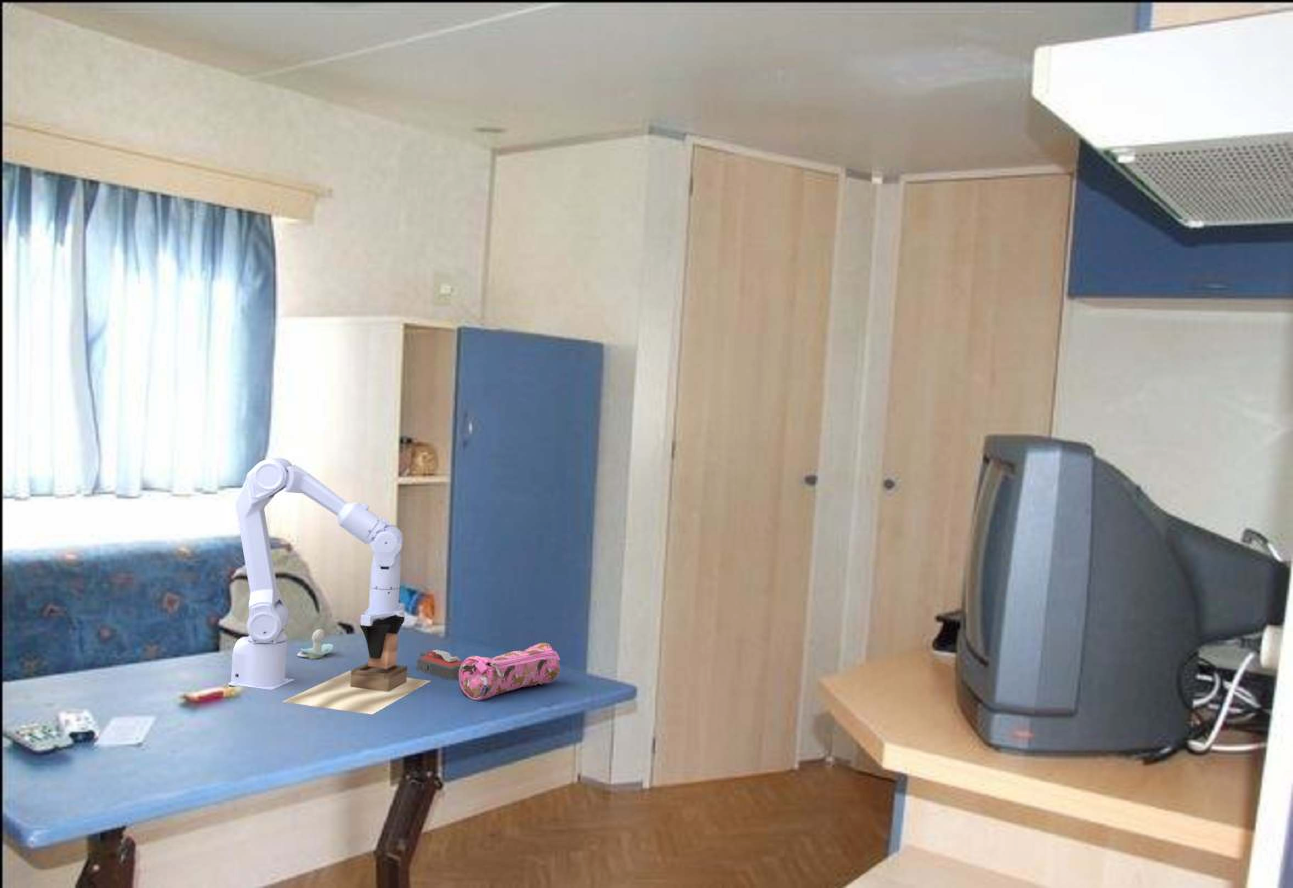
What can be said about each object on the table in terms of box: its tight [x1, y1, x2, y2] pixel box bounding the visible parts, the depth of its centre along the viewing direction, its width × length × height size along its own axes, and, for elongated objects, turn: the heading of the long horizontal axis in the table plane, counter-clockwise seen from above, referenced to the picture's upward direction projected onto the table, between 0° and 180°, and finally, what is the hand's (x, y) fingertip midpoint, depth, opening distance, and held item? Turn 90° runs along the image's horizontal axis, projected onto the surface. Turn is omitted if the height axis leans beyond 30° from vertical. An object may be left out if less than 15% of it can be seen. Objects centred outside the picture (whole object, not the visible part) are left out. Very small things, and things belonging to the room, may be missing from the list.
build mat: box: [282, 662, 432, 715], centre depth 197 cm, size 18×25×4 cm
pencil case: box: [458, 642, 561, 701], centre depth 206 cm, size 21×9×9 cm, turn 141°
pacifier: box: [297, 628, 334, 659], centre depth 223 cm, size 7×6×6 cm
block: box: [368, 633, 399, 669], centre depth 202 cm, size 4×4×6 cm
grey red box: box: [416, 649, 464, 681], centre depth 219 cm, size 9×4×20 cm
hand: (380, 655), depth 202 cm, fingers closed on block, 4 cm apart
